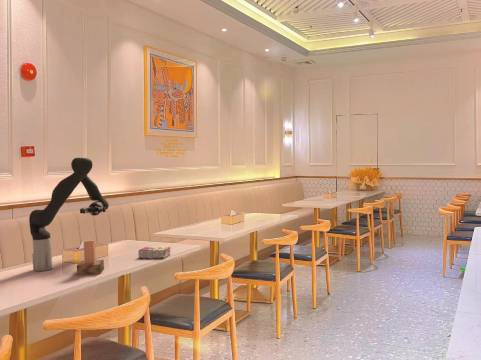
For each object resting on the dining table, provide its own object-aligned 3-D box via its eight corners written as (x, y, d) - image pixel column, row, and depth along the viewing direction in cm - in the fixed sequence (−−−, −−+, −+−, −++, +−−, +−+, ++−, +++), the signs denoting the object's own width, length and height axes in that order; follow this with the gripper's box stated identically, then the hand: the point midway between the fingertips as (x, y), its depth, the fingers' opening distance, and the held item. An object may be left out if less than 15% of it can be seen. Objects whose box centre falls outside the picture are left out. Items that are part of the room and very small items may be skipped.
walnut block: (77, 275, 260) (76, 265, 260) (81, 270, 272) (81, 261, 272) (100, 273, 262) (100, 264, 262) (104, 268, 274) (103, 259, 274)
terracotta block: (84, 263, 264) (83, 241, 263) (86, 261, 269) (85, 239, 268) (94, 263, 265) (93, 240, 264) (96, 261, 270) (94, 239, 269)
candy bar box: (145, 246, 308) (170, 246, 305) (145, 254, 309) (170, 254, 306) (138, 249, 297) (164, 250, 294) (138, 258, 298) (164, 258, 295)
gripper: (83, 203, 302) (77, 205, 286) (107, 201, 304) (103, 204, 288) (83, 215, 302) (78, 218, 286) (108, 214, 304) (104, 217, 288)
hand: (91, 211), depth 287 cm, fingers open, 8 cm apart
